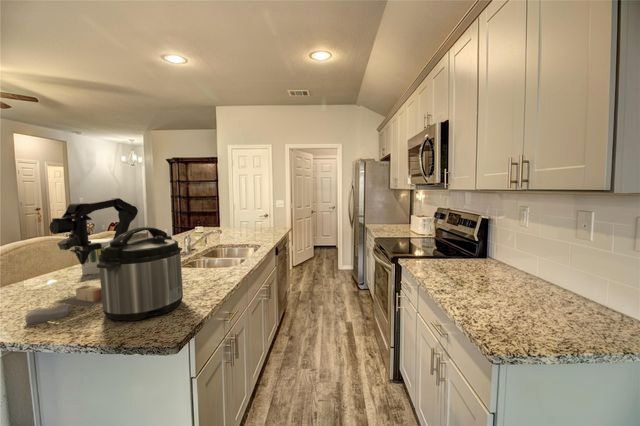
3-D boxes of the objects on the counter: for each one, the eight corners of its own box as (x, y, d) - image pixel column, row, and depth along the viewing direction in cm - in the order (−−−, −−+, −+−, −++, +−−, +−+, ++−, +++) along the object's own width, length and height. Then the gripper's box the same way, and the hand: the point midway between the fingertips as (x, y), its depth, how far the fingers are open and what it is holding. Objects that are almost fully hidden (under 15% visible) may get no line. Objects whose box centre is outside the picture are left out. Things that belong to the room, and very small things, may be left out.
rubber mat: (92, 291, 139) (91, 290, 139) (121, 295, 134) (121, 294, 134) (57, 302, 126) (57, 301, 126) (88, 307, 120) (88, 306, 120)
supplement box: (81, 275, 165) (78, 243, 164) (89, 269, 177) (87, 239, 176) (110, 272, 170) (107, 241, 168) (116, 266, 182) (114, 237, 181)
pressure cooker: (173, 289, 140) (169, 221, 137) (198, 307, 119) (193, 227, 116) (92, 308, 119) (85, 228, 116) (105, 334, 99) (97, 237, 96)
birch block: (90, 284, 133) (108, 286, 130) (91, 294, 134) (109, 296, 130) (75, 288, 128) (94, 291, 124) (76, 299, 128) (95, 302, 125)
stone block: (33, 321, 114) (23, 326, 105) (33, 308, 114) (23, 312, 105) (73, 315, 119) (67, 320, 111) (73, 302, 120) (67, 306, 111)
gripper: (45, 232, 135) (49, 267, 136) (75, 234, 129) (78, 270, 130) (72, 229, 145) (75, 261, 147) (101, 230, 139) (103, 264, 141)
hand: (82, 264), depth 141 cm, fingers closed
